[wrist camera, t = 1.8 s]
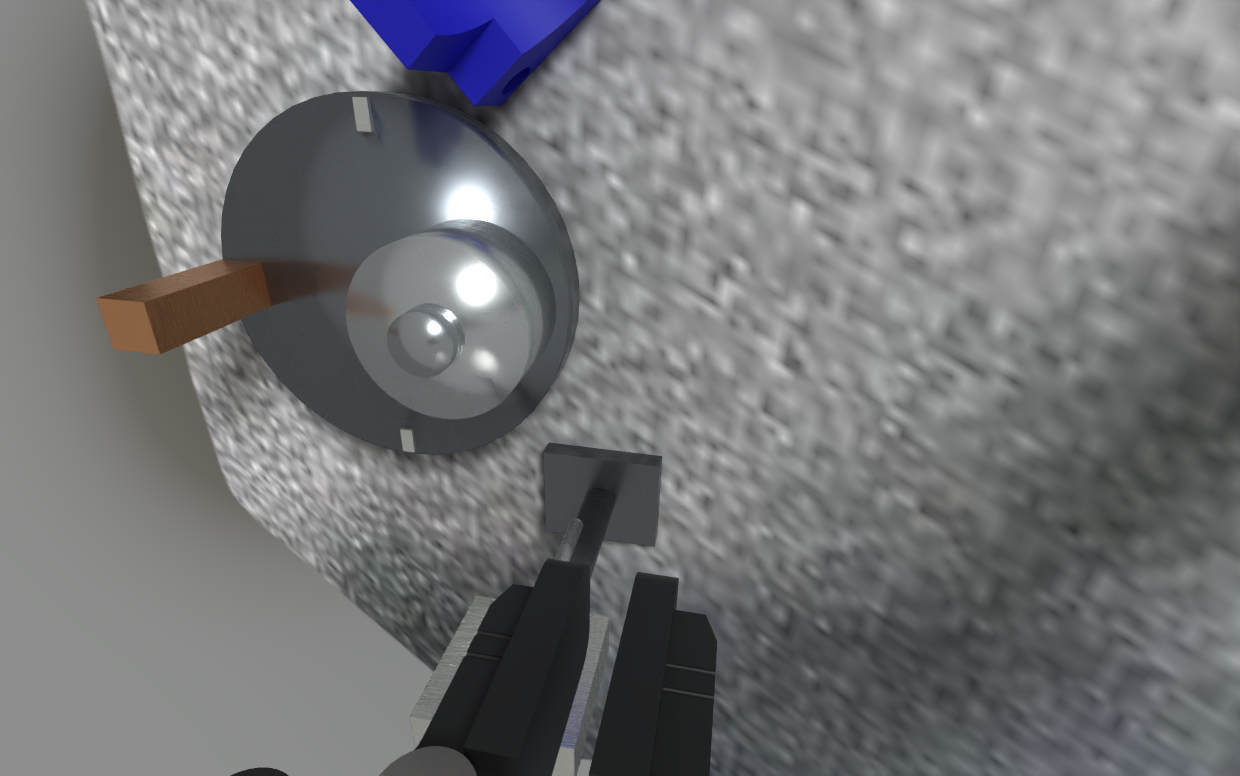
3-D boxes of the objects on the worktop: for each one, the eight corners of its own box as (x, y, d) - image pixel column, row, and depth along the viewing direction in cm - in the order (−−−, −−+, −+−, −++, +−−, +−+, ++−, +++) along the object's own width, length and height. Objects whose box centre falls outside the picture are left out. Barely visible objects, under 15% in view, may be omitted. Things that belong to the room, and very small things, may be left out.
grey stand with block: (662, 456, 32) (591, 750, 17) (657, 534, 34) (590, 853, 20) (548, 442, 33) (393, 711, 18) (550, 519, 35) (413, 813, 20)
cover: (554, 224, 24) (508, 253, 20) (557, 385, 27) (518, 444, 23) (389, 213, 25) (309, 239, 21) (409, 369, 28) (343, 422, 24)
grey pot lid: (579, 97, 24) (507, 97, 17) (579, 451, 31) (529, 557, 24) (216, 86, 26) (20, 82, 19) (291, 416, 33) (167, 502, 26)
